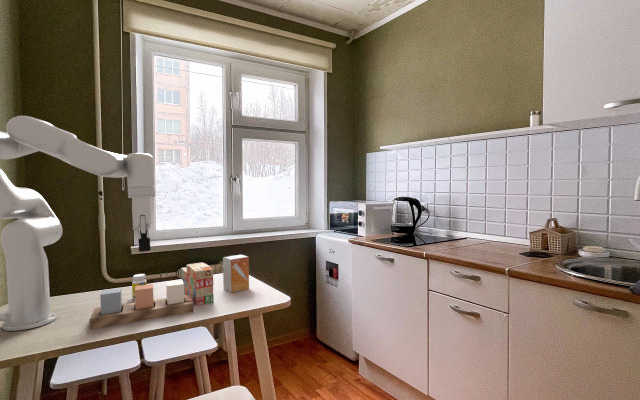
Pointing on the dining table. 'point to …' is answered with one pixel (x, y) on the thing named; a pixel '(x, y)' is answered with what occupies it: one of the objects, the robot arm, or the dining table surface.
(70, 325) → the dining table surface
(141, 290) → the peach block
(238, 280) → the small box
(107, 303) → the button slate
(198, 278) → the stack of blocks
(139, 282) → the supplement bottle
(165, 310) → the button board
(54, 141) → the robot arm
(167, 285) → the button cream
